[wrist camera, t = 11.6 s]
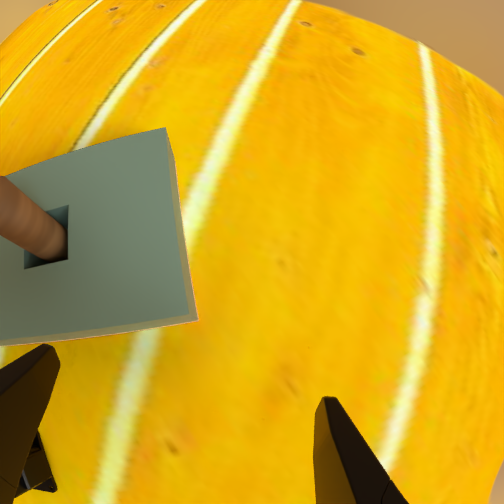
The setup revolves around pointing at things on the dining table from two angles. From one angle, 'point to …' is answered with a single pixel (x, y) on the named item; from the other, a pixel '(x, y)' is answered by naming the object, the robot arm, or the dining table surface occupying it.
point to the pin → (30, 225)
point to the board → (101, 246)
